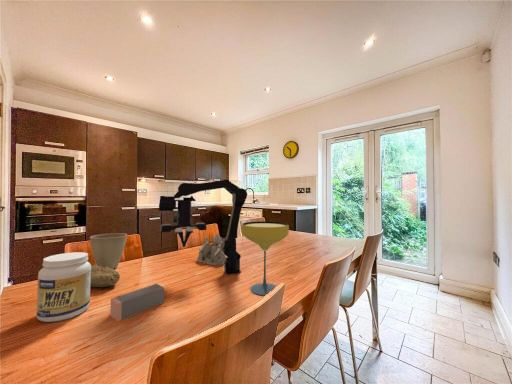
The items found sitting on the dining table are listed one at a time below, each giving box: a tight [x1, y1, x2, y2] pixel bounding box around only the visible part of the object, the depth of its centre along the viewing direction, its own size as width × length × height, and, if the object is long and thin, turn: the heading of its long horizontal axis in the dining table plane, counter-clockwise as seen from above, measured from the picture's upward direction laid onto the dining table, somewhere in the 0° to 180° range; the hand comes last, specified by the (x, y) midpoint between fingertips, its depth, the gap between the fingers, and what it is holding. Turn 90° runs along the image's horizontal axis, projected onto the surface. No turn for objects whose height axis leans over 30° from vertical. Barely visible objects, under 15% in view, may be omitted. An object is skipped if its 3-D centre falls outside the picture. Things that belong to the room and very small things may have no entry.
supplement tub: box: [36, 251, 92, 323], centre depth 67 cm, size 12×12×17 cm
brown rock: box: [90, 264, 121, 288], centre depth 88 cm, size 13×8×20 cm
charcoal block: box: [109, 283, 165, 322], centre depth 69 cm, size 5×5×14 cm
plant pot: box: [89, 232, 128, 270], centre depth 106 cm, size 15×15×16 cm
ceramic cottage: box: [196, 232, 227, 266], centre depth 120 cm, size 16×16×15 cm
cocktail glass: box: [241, 220, 290, 297], centre depth 84 cm, size 18×18×25 cm
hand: (183, 246), depth 97 cm, fingers closed
